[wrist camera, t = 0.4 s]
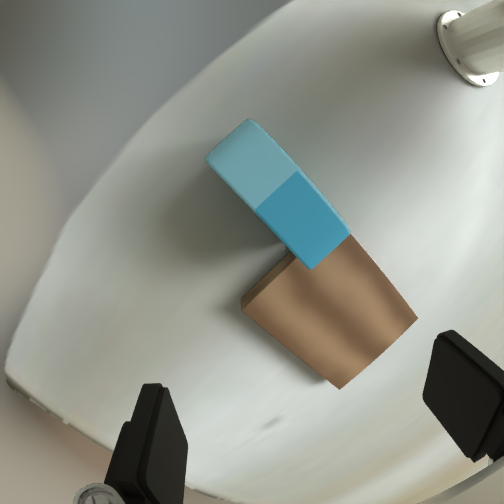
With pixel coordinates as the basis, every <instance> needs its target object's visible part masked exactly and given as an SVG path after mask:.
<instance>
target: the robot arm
mask: <svg viewBox="0 0 504 504" xmlns="http://www.w3.org/2000/svg"><path fill="white" fill-rule="evenodd" d="M437 32H438V38H439V41H440V44H441V47H442V49H443V51H444V53H445V55H446V57H447V58H448V60H449V62H450V63H451V64H452V66H453V67H454V68H455V70H456V71H457V72H458V73H459V74H460V75H461V76H462V77H463V78H464V79H466V80H467V81H468V82H470V83H472V84H474V85H476V86H480V87H483V86H489V85H491V84H493V83H494V82H495V81H496V79H497V77H498V72H502V71H504V0H493V1H491V2H489V3H486V4H484V5H482V6H480V7H478V8H476V9H474V10H472V11H470V12H468V13H466V14H465V13H463V12H460V11H456V10H451V11H448V12H446V13H444V14H443V15H441V16H440V18H439V20H438V24H437ZM423 400H424V402H425V404H426V405H427V406H428V407H429V409H430V410H431V411H432V413H433V414H434V415H435V416H436V418H437V419H438V420H439V422H440V423H441V424H442V426H443V427H444V428H445V430H446V431H447V432H448V433H449V435H450V436H451V437H452V439H453V440H454V441H455V443H456V444H457V445H458V447H459V448H460V449H461V451H462V452H463V453H464V455H465V456H466V457H468V458H471V460H472V461H473V462H474V463H475V462H476V461H478V460H480V459H481V458H483V457H484V456H485V455H486V453H487V455H488V456H489V460H488V467H486V468H484V469H483V470H481V471H479V472H478V473H476V474H475V475H473V476H471V477H469V478H468V479H466V480H464V481H462V482H461V483H459V484H457V485H455V486H453V487H451V488H449V489H447V490H445V491H443V492H441V493H439V494H437V495H435V496H433V497H431V498H429V499H427V500H425V501H422V502H420V503H418V504H504V371H503V370H502V369H501V368H500V367H499V366H497V365H496V364H495V363H494V362H493V361H491V360H490V359H489V358H488V357H487V356H485V355H484V354H483V353H482V352H481V351H479V350H478V349H477V348H476V347H474V346H473V345H472V344H471V343H469V342H468V341H467V340H466V339H464V338H463V337H462V336H461V335H459V334H458V333H457V332H456V331H454V330H448V331H445V332H442V333H440V334H438V336H437V338H436V339H435V340H434V344H433V350H432V355H431V360H430V364H429V369H428V373H427V378H426V382H425V386H424V390H423ZM187 453H188V443H187V439H186V436H185V434H184V431H183V429H182V426H181V423H180V421H179V418H178V415H177V412H176V410H175V407H174V404H173V401H172V398H171V395H170V392H169V390H168V388H167V387H163V386H162V384H161V383H152V384H143V386H142V389H141V391H140V394H139V397H138V400H137V403H136V406H135V409H134V412H133V415H132V418H131V421H126V422H125V423H124V424H123V426H122V429H121V432H120V434H119V437H118V440H117V443H116V446H115V449H114V452H113V455H112V459H111V462H110V465H109V468H108V471H107V474H106V478H105V481H104V484H102V483H93V484H90V485H86V486H84V487H83V488H81V489H80V490H79V491H78V492H77V493H76V495H75V497H74V500H73V504H183V497H184V486H185V474H186V464H187Z"/></svg>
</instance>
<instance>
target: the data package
mask: <svg viewBox="0 0 504 504" xmlns="http://www.w3.org/2000/svg"><path fill="white" fill-rule="evenodd" d="M205 161H206V162H207V163H208V164H209V166H210V167H211V168H212V169H213V170H214V171H215V172H216V173H217V174H218V175H219V176H220V177H221V178H222V179H223V180H224V181H225V182H226V183H227V184H228V185H229V186H230V187H231V188H232V189H233V190H234V192H235V193H236V194H237V195H238V196H239V197H240V198H241V199H242V200H243V201H244V202H245V203H246V204H247V205H248V206H249V207H250V208H251V209H252V210H253V211H254V212H255V213H256V214H257V216H258V217H259V218H260V219H261V220H262V221H263V222H264V223H265V224H266V225H267V226H268V227H269V228H270V229H271V230H272V231H273V232H274V233H275V235H276V236H277V237H278V238H279V239H280V240H281V241H282V242H283V243H284V244H285V245H286V246H287V247H288V248H289V249H290V251H291V252H292V253H293V254H294V255H295V256H296V257H297V258H298V259H299V260H300V261H301V262H302V263H303V265H304V266H305V267H306V268H308V269H309V270H311V269H313V268H314V267H315V266H316V265H317V264H319V263H320V262H321V261H322V260H323V259H324V258H325V257H326V256H327V255H328V254H329V253H331V252H332V251H333V250H334V249H335V248H336V247H337V246H338V245H339V244H340V243H341V242H342V241H343V240H344V239H346V238H347V237H348V236H349V235H350V228H349V227H348V225H347V224H346V222H345V221H344V220H343V218H342V217H341V216H340V215H339V214H338V212H337V211H336V210H335V209H334V208H333V206H332V205H331V204H330V203H329V202H328V200H327V199H326V198H325V197H324V196H323V194H322V193H321V192H320V191H319V190H318V189H317V187H316V186H315V185H314V184H313V183H312V182H311V181H310V179H309V178H308V177H307V176H306V175H305V174H304V173H303V171H302V170H301V169H300V168H299V167H298V166H297V165H296V164H295V163H294V161H293V160H292V159H291V158H290V157H289V156H288V155H287V154H286V153H285V152H284V150H283V149H282V148H281V147H280V146H279V145H278V144H277V143H276V142H275V141H274V140H273V139H272V138H271V137H270V136H269V134H268V133H267V132H266V131H265V130H264V129H263V128H262V127H261V126H259V125H258V124H257V123H256V122H254V121H253V120H251V119H246V120H245V121H244V122H243V123H242V124H240V125H239V126H238V127H237V128H236V129H235V130H234V131H233V132H232V133H230V134H229V135H228V136H227V137H226V138H225V139H224V140H223V141H222V142H221V143H220V144H218V145H217V146H216V147H215V148H214V149H213V150H212V151H211V152H210V153H209V154H208V155H207V156H206V157H205Z"/></svg>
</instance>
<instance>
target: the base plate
mask: <svg viewBox="0 0 504 504" xmlns="http://www.w3.org/2000/svg"><path fill="white" fill-rule="evenodd" d="M241 306H242V311H244V312H245V313H246V314H247V315H248V316H249V317H251V318H252V319H253V320H254V321H255V322H256V323H258V324H259V325H260V326H261V327H262V328H264V329H265V330H266V331H267V332H268V333H270V334H271V335H272V336H273V337H274V338H276V339H277V340H278V341H279V342H280V343H282V344H283V345H284V346H285V347H287V348H288V349H289V350H290V351H291V352H293V353H294V354H295V355H296V356H298V357H299V358H300V359H301V360H303V361H304V362H305V363H306V364H307V365H309V366H310V367H311V368H313V369H314V370H315V371H316V372H318V373H319V374H320V375H321V376H323V377H324V378H325V379H326V380H328V381H329V382H330V383H332V384H333V385H334V386H335V387H337V388H338V389H339V390H340V389H341V388H342V387H343V386H345V385H346V384H347V383H348V382H350V381H351V380H352V379H353V378H354V377H356V376H357V375H358V374H359V373H360V372H361V371H363V370H364V369H365V368H366V367H367V366H368V365H370V364H371V363H372V362H373V361H374V360H375V359H376V358H377V357H379V356H380V355H381V354H382V353H383V352H384V351H385V350H386V349H387V348H388V347H389V346H390V345H392V344H393V343H394V342H395V341H396V340H397V339H398V338H399V337H400V336H401V335H402V334H403V333H404V332H405V331H406V330H407V329H408V328H409V327H410V326H411V325H412V324H413V323H414V322H415V321H416V320H417V319H418V317H417V316H416V315H415V313H414V312H413V311H412V309H411V308H410V307H409V305H408V304H407V303H406V301H405V300H404V299H403V297H402V296H401V295H400V294H399V292H398V291H397V290H396V288H395V287H394V286H393V285H392V283H391V282H390V281H389V280H388V278H387V277H386V276H385V275H384V273H383V272H382V271H381V270H380V268H379V267H378V266H377V265H376V263H375V262H374V261H373V260H372V259H371V257H370V256H369V255H368V254H367V253H366V251H365V250H364V249H363V248H362V247H361V246H360V244H359V243H358V242H357V241H356V240H355V238H354V237H353V236H352V235H351V234H350V235H349V236H348V237H347V238H346V239H344V240H343V241H342V242H341V243H340V244H339V245H338V246H337V247H336V248H335V249H334V250H333V251H332V252H331V253H329V254H328V255H327V256H326V257H325V258H324V259H323V260H322V261H321V262H320V263H319V264H317V265H316V266H315V267H314V268H313V269H311V270H309V269H308V268H306V267H305V266H304V265H303V263H302V262H301V261H300V260H299V259H298V258H297V257H296V256H295V255H294V254H293V253H292V252H291V251H290V252H289V253H288V254H287V255H286V256H285V257H284V258H283V259H282V260H281V261H280V262H279V263H278V264H277V265H276V266H275V267H274V268H273V269H272V270H271V271H270V272H269V273H268V274H267V275H266V276H264V277H263V278H262V279H261V280H260V281H259V282H258V283H257V284H256V285H255V286H254V287H253V288H252V289H251V290H250V291H249V292H248V293H247V294H246V295H245V296H244V297H243V298H241Z"/></svg>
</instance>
